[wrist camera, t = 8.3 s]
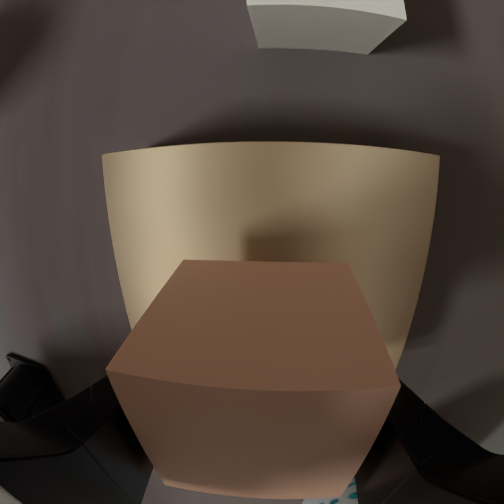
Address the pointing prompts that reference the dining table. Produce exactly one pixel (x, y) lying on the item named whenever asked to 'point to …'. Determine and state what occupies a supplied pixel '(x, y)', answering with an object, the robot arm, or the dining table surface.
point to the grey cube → (325, 23)
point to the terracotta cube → (256, 379)
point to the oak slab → (276, 216)
